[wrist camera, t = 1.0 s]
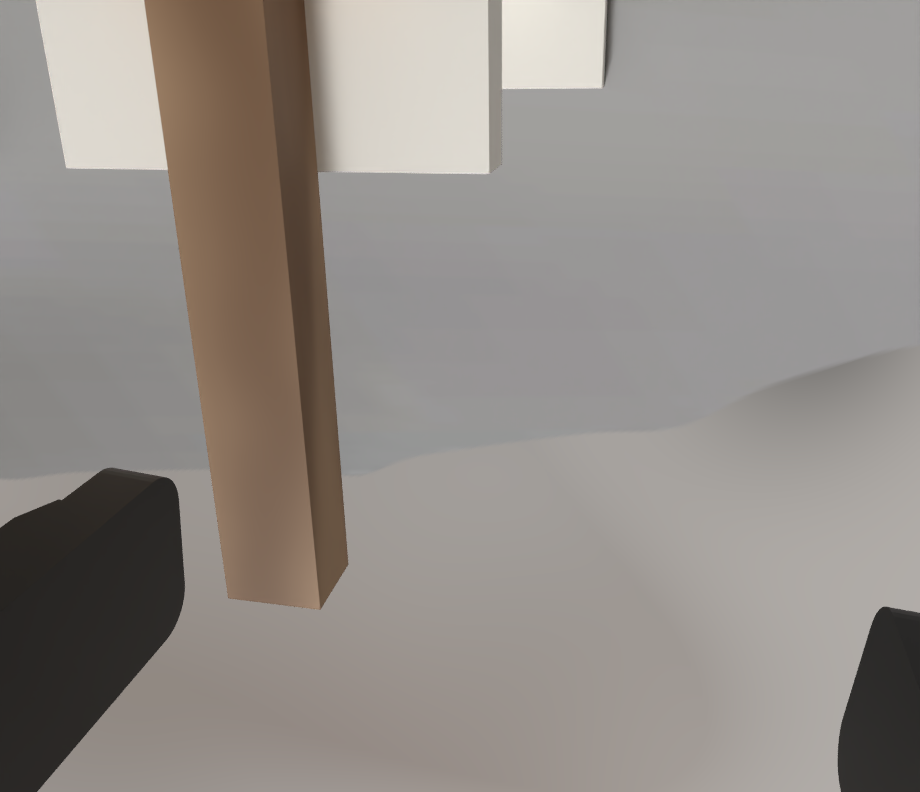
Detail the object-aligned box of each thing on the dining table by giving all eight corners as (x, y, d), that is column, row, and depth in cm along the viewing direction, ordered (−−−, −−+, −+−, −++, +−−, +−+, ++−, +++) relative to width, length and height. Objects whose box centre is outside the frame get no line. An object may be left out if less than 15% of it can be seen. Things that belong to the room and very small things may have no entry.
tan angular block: (184, 545, 24) (135, 596, 22) (37, -381, 16) (-61, -444, 14) (433, 574, 22) (407, 631, 20) (398, -432, 15) (350, -509, 13)
